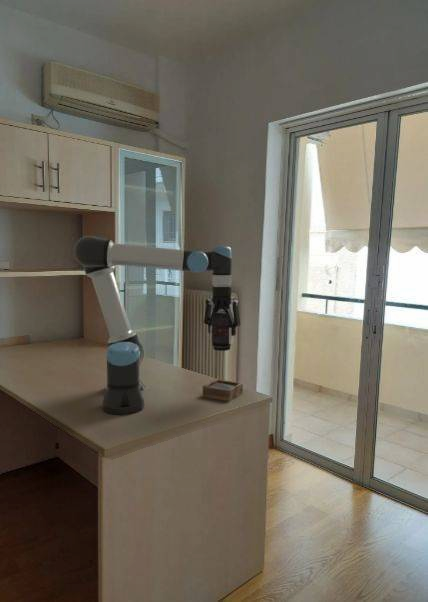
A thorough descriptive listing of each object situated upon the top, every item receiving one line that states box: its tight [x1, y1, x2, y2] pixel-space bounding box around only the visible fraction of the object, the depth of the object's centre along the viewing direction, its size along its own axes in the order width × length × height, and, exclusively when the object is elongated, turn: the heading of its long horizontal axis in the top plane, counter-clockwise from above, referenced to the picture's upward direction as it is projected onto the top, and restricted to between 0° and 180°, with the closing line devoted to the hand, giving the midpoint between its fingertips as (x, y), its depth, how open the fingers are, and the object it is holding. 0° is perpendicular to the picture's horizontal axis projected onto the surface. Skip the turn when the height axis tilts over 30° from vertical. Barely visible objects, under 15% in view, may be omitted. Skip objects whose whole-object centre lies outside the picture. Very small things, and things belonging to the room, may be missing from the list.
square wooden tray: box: [202, 378, 244, 402], centre depth 181 cm, size 12×12×4 cm
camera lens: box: [211, 310, 232, 352], centre depth 177 cm, size 8×8×15 cm
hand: (221, 342), depth 178 cm, fingers closed on camera lens, 8 cm apart
